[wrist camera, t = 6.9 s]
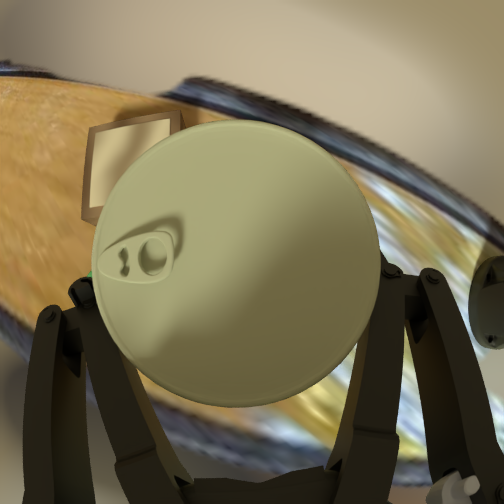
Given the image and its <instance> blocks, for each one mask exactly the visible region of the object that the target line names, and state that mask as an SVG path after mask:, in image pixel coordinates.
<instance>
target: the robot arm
mask: <svg viewBox="0 0 504 504" xmlns="http://www.w3.org/2000/svg"><path fill="white" fill-rule="evenodd" d="M380 256H381V270H380V281H379V288H378V294H377V298H376V301H375V305H374V308H373V311H372V314H371V316H370V319H369V321H368V324H367V326H366V327H365V329H364V331H363V333H362V335H361V337H360V338H359V340H358V342H357V348H356V354H355V359H354V365H353V370H352V375H351V380H350V384H349V389H348V394H347V398H346V402H345V407H344V411H343V415H342V419H341V423H340V427H339V431H338V434H337V438H336V442H335V445H334V448H333V451H332V453H331V455H330V457H329V460H328V463H327V466H326V469H325V470H324V468H323V466H318V467H313V468H308V469H302V470H296V471H291V472H289V473H286V474H284V475H281V476H278V477H276V478H273V479H270V480H268V481H265V482H261V483H254V482H247V481H241V480H234V479H228V478H206V479H205V478H194V481H193V480H192V478H191V477H190V475H189V474H188V473H187V471H186V469H185V468H184V467H183V466H182V464H181V463H180V461H179V459H178V457H177V456H176V454H175V452H174V450H173V448H172V446H171V444H170V442H169V440H168V438H167V436H166V434H165V432H164V430H163V428H162V426H161V424H160V422H159V420H158V418H157V416H156V414H155V411H154V409H153V407H152V405H151V403H150V400H149V398H148V396H147V393H146V391H145V389H144V386H143V384H142V382H141V379H140V377H139V374H138V372H137V369H136V367H135V366H134V365H133V364H132V363H131V362H130V361H129V360H128V359H127V357H126V356H125V355H124V354H123V353H122V351H121V350H120V348H119V347H118V346H117V344H116V343H115V341H114V340H113V338H112V337H111V335H110V333H109V331H108V329H107V327H106V325H105V323H104V320H103V318H102V316H101V313H100V310H99V307H98V304H97V301H96V296H95V292H94V287H93V279H92V277H83V278H80V279H78V280H76V281H75V282H74V283H73V284H72V285H71V286H70V288H69V290H68V294H69V296H70V298H71V300H72V301H73V303H74V305H75V306H76V307H74V308H71V309H68V310H65V311H62V310H61V308H60V307H59V306H58V305H50V306H47V307H46V308H44V309H43V310H42V311H41V313H40V314H39V316H38V319H37V324H36V328H35V333H34V338H33V344H32V349H31V355H30V361H29V368H28V375H27V384H26V394H25V404H24V419H23V472H24V487H25V491H24V496H23V502H22V504H96V502H95V494H94V487H93V482H92V474H91V467H90V458H89V447H88V435H87V421H86V420H87V419H86V362H87V366H88V371H89V375H90V379H91V382H92V386H93V390H94V394H95V397H96V400H97V404H98V407H99V410H100V414H101V417H102V420H103V423H104V426H105V429H106V432H107V434H108V437H109V440H110V443H111V445H112V448H113V451H114V453H115V456H116V463H115V465H114V466H115V471H116V475H117V477H118V480H119V482H120V484H121V486H122V489H123V491H124V493H125V495H126V497H127V499H128V501H129V503H130V504H392V503H390V502H389V501H388V496H389V491H390V488H391V484H392V479H393V475H394V470H395V466H396V461H397V455H398V450H399V442H400V440H399V436H398V435H397V433H396V423H397V417H398V409H399V401H400V392H401V382H402V370H403V354H404V328H406V332H407V336H408V340H409V344H410V349H411V353H412V358H413V363H414V367H415V372H416V378H417V383H418V388H419V394H420V400H421V406H422V413H423V420H424V428H425V436H426V445H427V456H428V464H429V471H430V475H431V479H432V482H433V486H432V487H431V489H430V491H429V493H428V495H427V496H426V503H427V504H504V455H503V453H502V450H501V448H500V446H499V444H498V442H497V439H496V433H495V428H494V423H493V418H492V413H491V409H490V404H489V400H488V396H487V392H486V388H485V385H484V381H483V377H482V374H481V371H480V367H479V364H478V361H477V358H476V354H475V351H474V348H473V346H472V343H471V340H470V337H469V334H468V331H467V329H466V326H465V323H464V321H463V318H462V316H461V313H460V311H459V308H458V306H457V303H456V301H455V299H454V296H453V294H452V292H451V289H450V287H449V285H448V283H447V281H446V278H445V277H444V275H443V274H442V273H441V272H439V271H438V270H436V269H433V268H424V269H423V270H421V272H420V275H419V276H415V275H407V274H403V271H402V270H401V269H400V268H399V267H398V266H396V265H394V264H391V263H388V261H387V260H386V258H385V257H384V255H383V253H382V252H381V250H380ZM469 320H470V326H471V330H472V333H473V335H474V337H475V339H476V340H477V342H478V343H479V344H480V345H481V346H483V347H485V348H490V349H502V348H504V256H496V257H491V258H489V259H487V260H486V261H485V262H484V263H483V264H482V265H481V266H480V267H479V269H478V271H477V273H476V275H475V277H474V280H473V283H472V286H471V291H470V297H469Z"/></svg>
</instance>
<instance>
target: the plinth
mask: <svg viewBox="0 0 504 504" xmlns="http://www.w3.org/2000/svg"><path fill="white" fill-rule="evenodd" d="M184 129H186V127H185V124H184V120H183V117H182V114H181V111H180V110H176V111H169V112H163V113H156V114H151V115H145V116H140V117H134V118H129V119H125V120H120V121H115V122H111V123H107V124H102V125H98V126H94V127H90V128H89V133H88V140H87V148H86V156H85V166H84V177H83V191H82V211H81V219H82V220H84V221H86V222H88V223H90V224H92V225H94V226H97V223H98V220H99V217H100V214H101V212H102V209H103V207H104V204H105V202H106V200H107V198H108V196H109V194H110V192H111V191H112V189H113V188H114V186H115V184H116V183H117V181H118V180H119V179H120V177H121V176H122V175H123V174H124V172H125V171H126V170H127V169H128V168H129V166H130V165H131V164H132V163H133V162H134V161H135V160H136V159H137V158H138V157H140V156H141V155H142V154H143V153H144V152H145V151H147V150H148V149H149V148H151V147H152V146H154V145H155V144H156V143H158V142H159V141H161V140H163V139H164V138H166V137H168V136H170V135H172V134H174V133H176V132H179V131H181V130H184Z"/></svg>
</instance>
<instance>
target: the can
mask: <svg viewBox="0 0 504 504" xmlns="http://www.w3.org/2000/svg"><path fill="white" fill-rule="evenodd" d="M380 270H381V256H380V246H379V239H378V234H377V229H376V225H375V222H374V219H373V216H372V213H371V211H370V208H369V206H368V204H367V202H366V199H365V197H364V196H363V194H362V192H361V190H360V189H359V187H358V185H357V184H356V182H355V181H354V180H353V178H352V177H351V176H350V174H349V173H348V172H347V170H346V169H345V168H344V167H343V166H342V165H341V164H340V163H339V162H338V161H337V160H336V159H335V158H334V157H333V156H332V155H330V154H329V153H328V152H327V151H326V150H324V149H323V148H322V147H320V146H319V145H317V144H316V143H314V142H313V141H311V140H309V139H308V138H306V137H304V136H302V135H300V134H298V133H296V132H294V131H292V130H289V129H286V128H283V127H280V126H277V125H274V124H269V123H265V122H260V121H253V120H221V121H212V122H207V123H202V124H199V125H195V126H192V127H189V128H186V129H184V130H181V131H179V132H176V133H174V134H172V135H170V136H168V137H166V138H164V139H163V140H161V141H159V142H158V143H156V144H155V145H154V146H152V147H151V148H149V149H148V150H147V151H145V152H144V153H143V154H142V155H141V156H140V157H138V158H137V159H136V160H135V161H134V162H133V163H132V164H131V165H130V166H129V168H128V169H127V170H126V171H125V172H124V174H123V175H122V176H121V177H120V179H119V180H118V181H117V183H116V184H115V186H114V188H113V189H112V191H111V192H110V194H109V196H108V198H107V200H106V202H105V204H104V207H103V209H102V212H101V214H100V217H99V220H98V223H97V226H96V231H95V236H94V241H93V249H92V279H93V287H94V292H95V296H96V301H97V304H98V307H99V310H100V313H101V316H102V318H103V320H104V323H105V325H106V327H107V329H108V331H109V333H110V335H111V337H112V338H113V340H114V341H115V343H116V344H117V346H118V347H119V348H120V350H121V351H122V353H123V354H124V355H125V356H126V357H127V359H128V360H129V361H130V362H131V363H132V364H133V365H134V366H135V367H136V368H137V369H138V370H139V371H140V372H141V373H143V374H144V375H145V376H146V377H148V378H149V379H150V380H152V381H153V382H154V383H156V384H158V385H159V386H161V387H163V388H164V389H166V390H168V391H169V392H172V393H174V394H176V395H178V396H180V397H183V398H185V399H188V400H191V401H194V402H198V403H202V404H206V405H212V406H219V407H228V408H239V407H253V406H261V405H266V404H270V403H275V402H278V401H281V400H284V399H287V398H289V397H291V396H294V395H296V394H299V393H301V392H303V391H304V390H306V389H308V388H309V387H311V386H313V385H315V384H316V383H318V382H319V381H320V380H322V379H323V378H324V377H326V376H327V375H328V374H330V373H331V372H332V371H333V370H334V369H335V368H336V367H337V366H338V365H339V364H340V363H341V362H342V361H343V360H344V359H345V358H346V357H347V355H348V354H349V353H350V351H351V350H352V349H353V347H354V346H355V345H356V343H357V342H358V340H359V338H360V337H361V335H362V333H363V331H364V329H365V327H366V326H367V324H368V321H369V319H370V316H371V314H372V311H373V308H374V305H375V301H376V298H377V294H378V288H379V281H380Z"/></svg>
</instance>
